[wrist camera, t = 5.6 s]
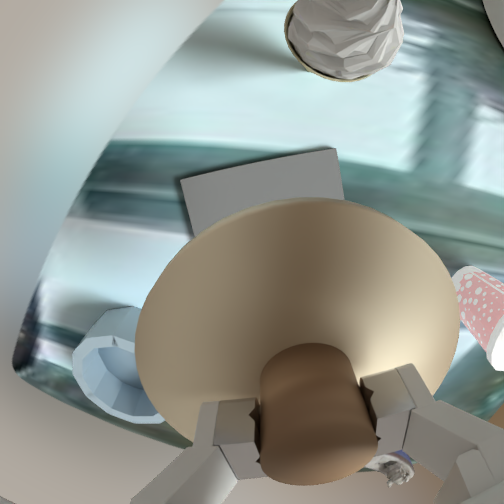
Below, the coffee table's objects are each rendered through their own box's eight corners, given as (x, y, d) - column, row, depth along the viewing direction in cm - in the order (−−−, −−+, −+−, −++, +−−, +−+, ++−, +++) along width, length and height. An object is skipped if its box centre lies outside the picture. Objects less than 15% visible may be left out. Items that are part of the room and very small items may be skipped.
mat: (334, 148, 21) (336, 148, 21) (352, 287, 25) (354, 290, 24) (181, 179, 22) (180, 180, 22) (218, 313, 26) (217, 317, 25)
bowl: (170, 300, 25) (155, 329, 21) (203, 387, 28) (197, 421, 24) (76, 314, 26) (54, 340, 22) (117, 392, 29) (103, 422, 25)
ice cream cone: (351, 97, 20) (487, 49, 6) (282, 107, 20) (336, 44, 6) (335, 34, 18) (432, -76, 4) (266, 43, 19) (284, -91, 5)
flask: (336, 394, 29) (360, 481, 19) (360, 377, 28) (392, 463, 18) (378, 427, 31) (403, 499, 21) (398, 413, 30) (429, 484, 20)
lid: (446, 170, 8) (544, 200, 4) (429, 414, 11) (460, 481, 7) (97, 242, 9) (15, 308, 5) (201, 457, 12) (190, 531, 8)
